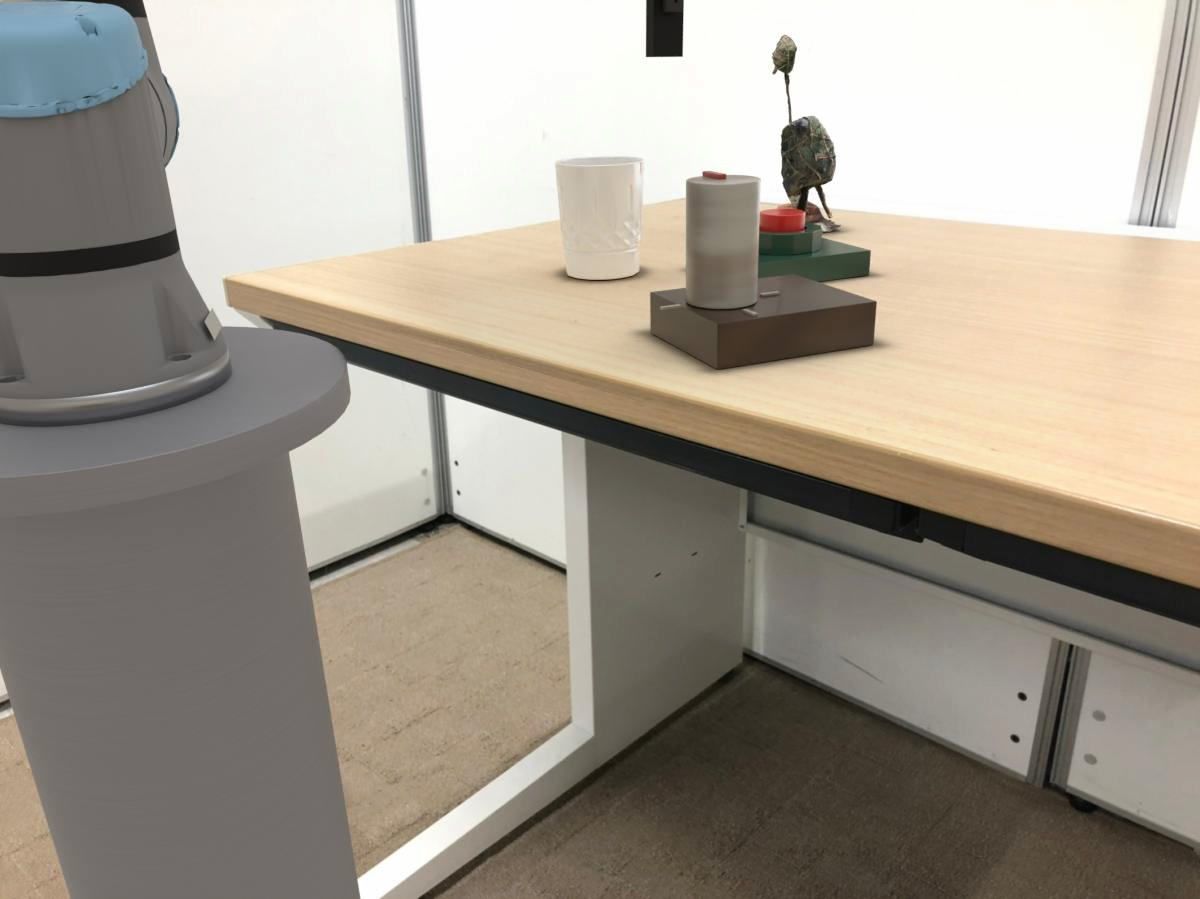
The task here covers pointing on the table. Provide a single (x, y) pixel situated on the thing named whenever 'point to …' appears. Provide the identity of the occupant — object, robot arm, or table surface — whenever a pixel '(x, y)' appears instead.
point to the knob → (722, 240)
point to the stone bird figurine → (804, 151)
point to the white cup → (600, 215)
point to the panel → (766, 323)
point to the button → (782, 220)
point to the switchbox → (809, 256)
